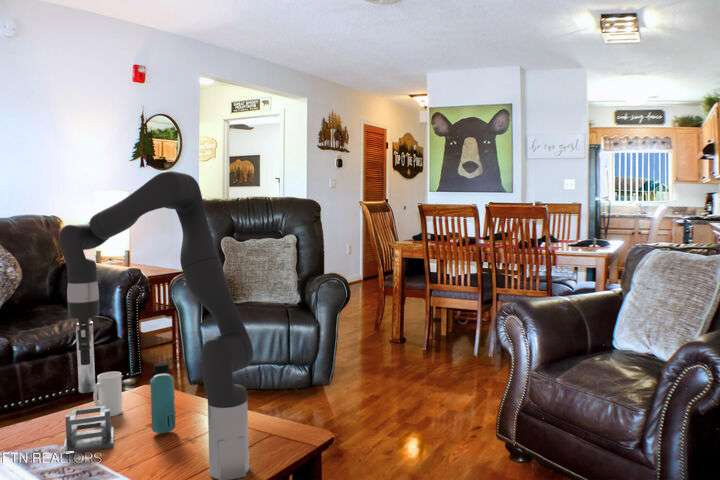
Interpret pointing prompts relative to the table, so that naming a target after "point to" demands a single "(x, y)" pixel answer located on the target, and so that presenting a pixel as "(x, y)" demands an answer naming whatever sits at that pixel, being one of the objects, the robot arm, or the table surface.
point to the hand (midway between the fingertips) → (86, 362)
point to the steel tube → (86, 370)
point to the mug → (109, 392)
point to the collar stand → (88, 438)
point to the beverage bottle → (162, 400)
